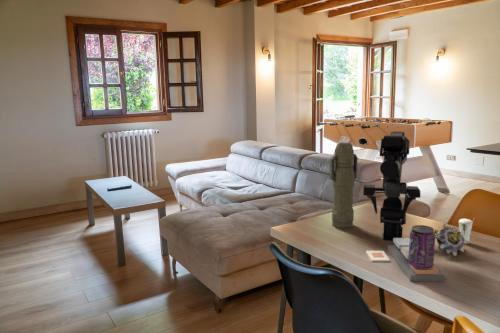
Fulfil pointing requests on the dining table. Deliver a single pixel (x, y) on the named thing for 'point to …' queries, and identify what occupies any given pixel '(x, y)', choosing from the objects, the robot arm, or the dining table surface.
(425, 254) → the beverage can
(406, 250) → the off-white key
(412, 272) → the keypad board
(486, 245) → the dining table surface
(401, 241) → the grey-blue key
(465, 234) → the milkshake
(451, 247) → the passion flower
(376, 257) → the card
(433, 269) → the terracotta key
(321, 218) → the dining table surface
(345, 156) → the thermos
